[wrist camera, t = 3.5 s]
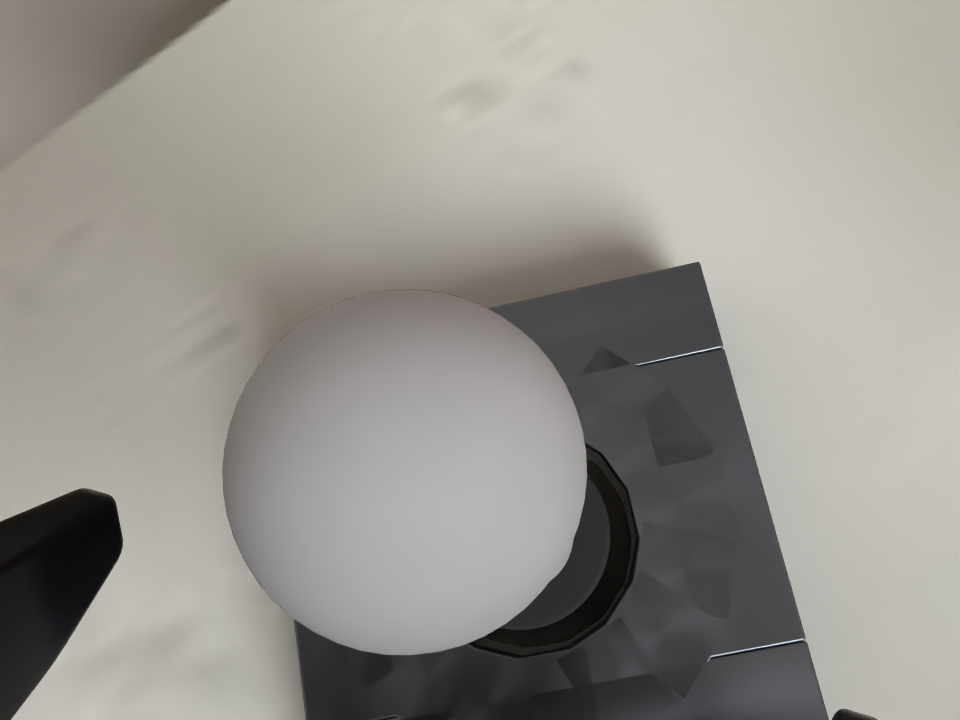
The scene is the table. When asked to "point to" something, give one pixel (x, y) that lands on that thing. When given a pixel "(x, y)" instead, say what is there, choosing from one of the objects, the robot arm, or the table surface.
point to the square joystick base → (654, 550)
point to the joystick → (413, 477)
